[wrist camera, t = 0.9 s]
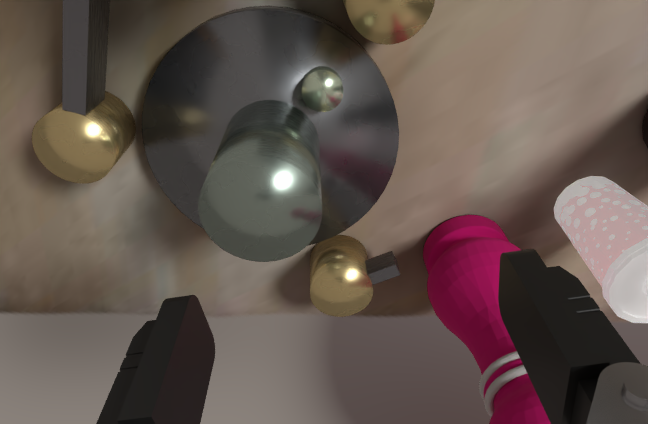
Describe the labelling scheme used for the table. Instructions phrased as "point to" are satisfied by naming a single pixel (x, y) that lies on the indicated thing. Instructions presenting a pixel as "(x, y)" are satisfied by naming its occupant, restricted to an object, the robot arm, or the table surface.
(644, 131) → the bottle
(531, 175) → the table surface
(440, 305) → the pepper mill
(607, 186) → the beverage cup
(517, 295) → the robot arm
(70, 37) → the brass head mallet
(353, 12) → the base
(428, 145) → the table surface
